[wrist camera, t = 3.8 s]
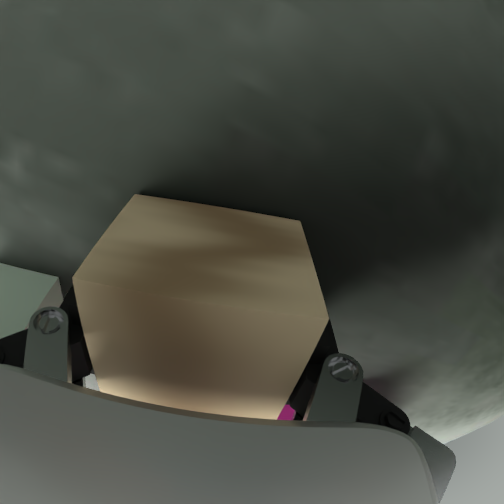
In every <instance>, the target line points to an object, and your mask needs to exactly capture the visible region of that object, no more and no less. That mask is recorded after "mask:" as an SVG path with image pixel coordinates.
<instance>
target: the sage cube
mask: <svg viewBox="0 0 504 504" xmlns="http://www.w3.org/2000/svg"><path fill="white" fill-rule="evenodd" d="M62 302H63V296H62V292H61V287H60V282H59V277H56V276H52V275H47V274H43V273H39V272H35V271H30V270H26V269H22V268H18V267H14V266H10V265H6V264H3V263H0V339H1V338H3V337H6V336H9V335H12V334H14V333H17V332H20V331H22V330H25V329H28V327H29V321H30V318H31V316H32V315H33V314H34V313H35V312H36V311H38V310H39V309H41V308H44V307H49V306H52V307H58V308H59V307H60V305H61V303H62Z"/></svg>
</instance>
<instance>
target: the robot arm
mask: <svg viewBox="0 0 504 504" xmlns="http://www.w3.org/2000/svg"><path fill="white" fill-rule="evenodd" d="M326 309H327V308H326ZM327 313H328V311H327ZM328 316H329V315H328ZM90 373H92V374H95V373H94V369H93V366H92V362H91V359H90V355H89V352H88V348H87V344H86V340H85V336H84V332H83V328H82V324H81V320H80V315H79V311H78V306H77V301H76V296H75V291H74V286H72V288H71V289H70V291H69V292H68V294H67V295H66V297H65V299H64V300H63V302H62V303H61V305H60V307H59V308H58V307H52V306H49V307H44V308H41V309H39V310H38V311H36V312H35V313H34V314H33V315H32V316H31V318H30V321H29V327H28V329H25V330H22V331H20V332H17V333H14V334H12V335H9V336H6V337H3V338H1V339H0V504H439V503H440V501H441V499H442V497H443V495H444V492H445V490H446V488H447V486H448V483H449V481H450V479H451V476H452V474H453V471H454V468H455V465H456V459H455V455H454V453H453V451H451V450H450V449H449V448H448V447H447V446H445V445H443V444H442V443H440V442H439V441H437V440H436V439H434V438H433V437H431V436H430V435H428V434H427V433H425V432H424V431H423V430H421V429H420V428H418V427H417V426H415V427H414V428H412V427H411V426H410V422H409V419H408V417H407V415H406V414H405V413H404V412H403V411H402V410H401V409H400V408H398V407H397V406H395V405H394V404H393V403H391V402H390V401H388V400H387V399H386V398H384V397H383V396H381V395H380V394H379V393H377V392H376V391H375V390H373V389H372V388H370V387H369V386H368V385H366V384H365V383H364V382H363V370H362V367H361V365H360V364H359V363H358V361H356V360H355V359H354V358H353V357H351V356H349V355H346V354H342V353H339V352H338V348H337V344H336V341H335V337H334V333H333V329H332V326H331V322H330V318H329V320H328V323H327V325H326V327H325V329H324V331H323V333H322V335H321V337H320V339H319V341H318V343H317V345H316V347H315V349H314V351H313V353H312V355H311V357H310V359H309V361H308V363H307V365H306V367H305V369H304V371H303V372H302V374H301V376H300V378H299V380H298V382H297V384H296V386H295V387H294V389H293V391H292V393H291V395H290V397H289V398H288V400H287V402H286V404H285V405H290V407H291V408H292V409H294V410H295V411H294V414H293V417H292V419H291V420H275V419H260V418H248V417H238V416H228V415H220V414H212V413H204V412H197V411H191V410H184V409H178V408H172V407H167V406H161V405H156V404H151V403H146V402H142V401H137V400H132V399H128V398H124V397H119V396H115V395H111V394H107V393H103V392H100V391H96V390H92V389H89V388H86V383H85V376H88V375H90Z"/></svg>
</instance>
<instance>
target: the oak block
mask: <svg viewBox="0 0 504 504" xmlns="http://www.w3.org/2000/svg"><path fill="white" fill-rule="evenodd" d="M72 280H73V286H74V291H75V296H76V301H77V306H78V311H79V315H80V320H81V324H82V328H83V332H84V336H85V340H86V344H87V348H88V352H89V355H90V359H91V362H92V366H93V369H94V373H95V376H96V379H97V382H98V385H99V388H100V391H101V392H103V393H107V394H111V395H115V396H119V397H124V398H128V399H132V400H137V401H142V402H146V403H151V404H156V405H161V406H167V407H172V408H178V409H184V410H191V411H197V412H204V413H212V414H220V415H228V416H238V417H248V418H260V419H275V420H277V418H278V416H279V414H280V413H281V411H282V409H283V407H284V406H285V404H286V402H287V400H288V398H289V397H290V395H291V393H292V391H293V389H294V387H295V386H296V384H297V382H298V380H299V378H300V376H301V374H302V372H303V371H304V369H305V367H306V365H307V363H308V361H309V359H310V357H311V355H312V353H313V351H314V349H315V347H316V345H317V343H318V341H319V339H320V337H321V335H322V333H323V331H324V329H325V327H326V325H327V323H328V320H329V316H328V313H327V309H326V306H325V302H324V298H323V295H322V291H321V288H320V284H319V281H318V278H317V274H316V271H315V267H314V264H313V261H312V257H311V254H310V251H309V247H308V244H307V241H306V238H305V235H304V231H303V228H302V225H301V222H300V221H298V220H292V219H287V218H281V217H276V216H270V215H265V214H259V213H253V212H247V211H241V210H235V209H229V208H223V207H217V206H211V205H205V204H198V203H192V202H186V201H179V200H172V199H166V198H159V197H152V196H145V195H137V194H135V195H134V196H133V197H132V198H131V199H130V201H129V202H128V203H127V204H126V206H125V207H124V208H123V209H122V211H121V212H120V213H119V214H118V216H117V217H116V218H115V220H114V221H113V222H112V223H111V225H110V226H109V227H108V229H107V230H106V231H105V233H104V234H103V235H102V237H101V238H100V239H99V241H98V242H97V243H96V245H95V246H94V247H93V249H92V250H91V251H90V253H89V254H88V256H87V257H86V258H85V260H84V261H83V263H82V264H81V266H80V267H79V268H78V270H77V271H76V273H75V274H74V276H73V277H72Z"/></svg>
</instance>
